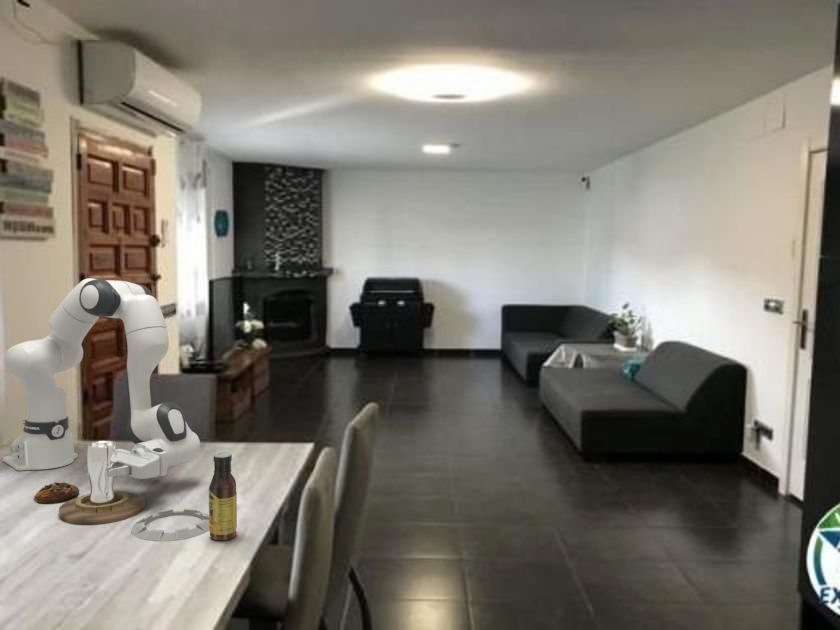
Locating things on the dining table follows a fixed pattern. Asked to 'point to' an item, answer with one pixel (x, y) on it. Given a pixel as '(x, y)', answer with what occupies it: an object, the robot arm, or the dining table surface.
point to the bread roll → (56, 493)
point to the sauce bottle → (222, 499)
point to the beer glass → (101, 471)
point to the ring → (179, 534)
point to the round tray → (101, 517)
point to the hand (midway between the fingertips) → (99, 470)
